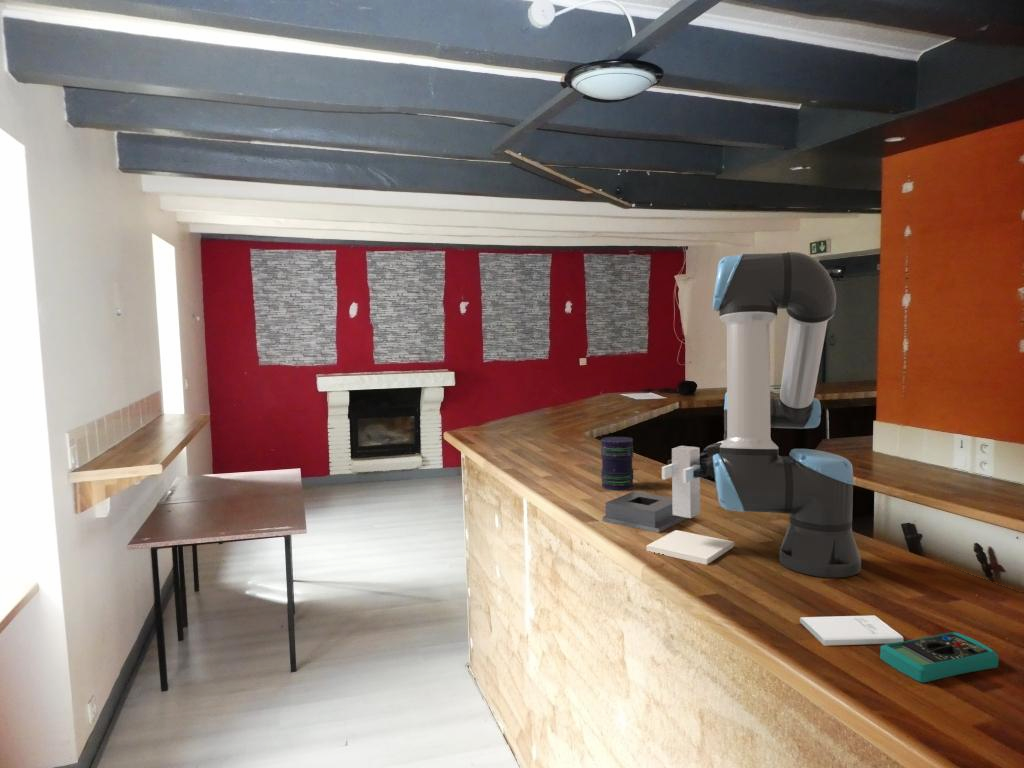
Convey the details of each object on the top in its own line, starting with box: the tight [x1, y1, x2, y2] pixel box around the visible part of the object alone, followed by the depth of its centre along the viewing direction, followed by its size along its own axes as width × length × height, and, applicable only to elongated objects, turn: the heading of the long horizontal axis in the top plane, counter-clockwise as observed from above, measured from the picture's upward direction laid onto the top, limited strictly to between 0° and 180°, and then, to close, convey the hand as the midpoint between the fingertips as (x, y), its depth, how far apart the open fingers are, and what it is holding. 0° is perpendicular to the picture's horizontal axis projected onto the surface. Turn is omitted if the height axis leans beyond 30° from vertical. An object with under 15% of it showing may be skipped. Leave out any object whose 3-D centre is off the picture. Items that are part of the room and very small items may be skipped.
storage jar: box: [600, 436, 634, 492], centre depth 202 cm, size 10×10×15 cm
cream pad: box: [646, 529, 735, 566], centre depth 146 cm, size 14×14×1 cm
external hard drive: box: [799, 614, 905, 647], centre depth 105 cm, size 2×8×12 cm
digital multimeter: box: [879, 631, 1000, 684], centre depth 95 cm, size 7×15×3 cm, turn 106°
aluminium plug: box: [671, 445, 701, 519], centre depth 146 cm, size 4×4×15 cm
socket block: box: [601, 491, 688, 534], centre depth 170 cm, size 16×20×5 cm
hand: (673, 474), depth 142 cm, fingers closed on aluminium plug, 4 cm apart
